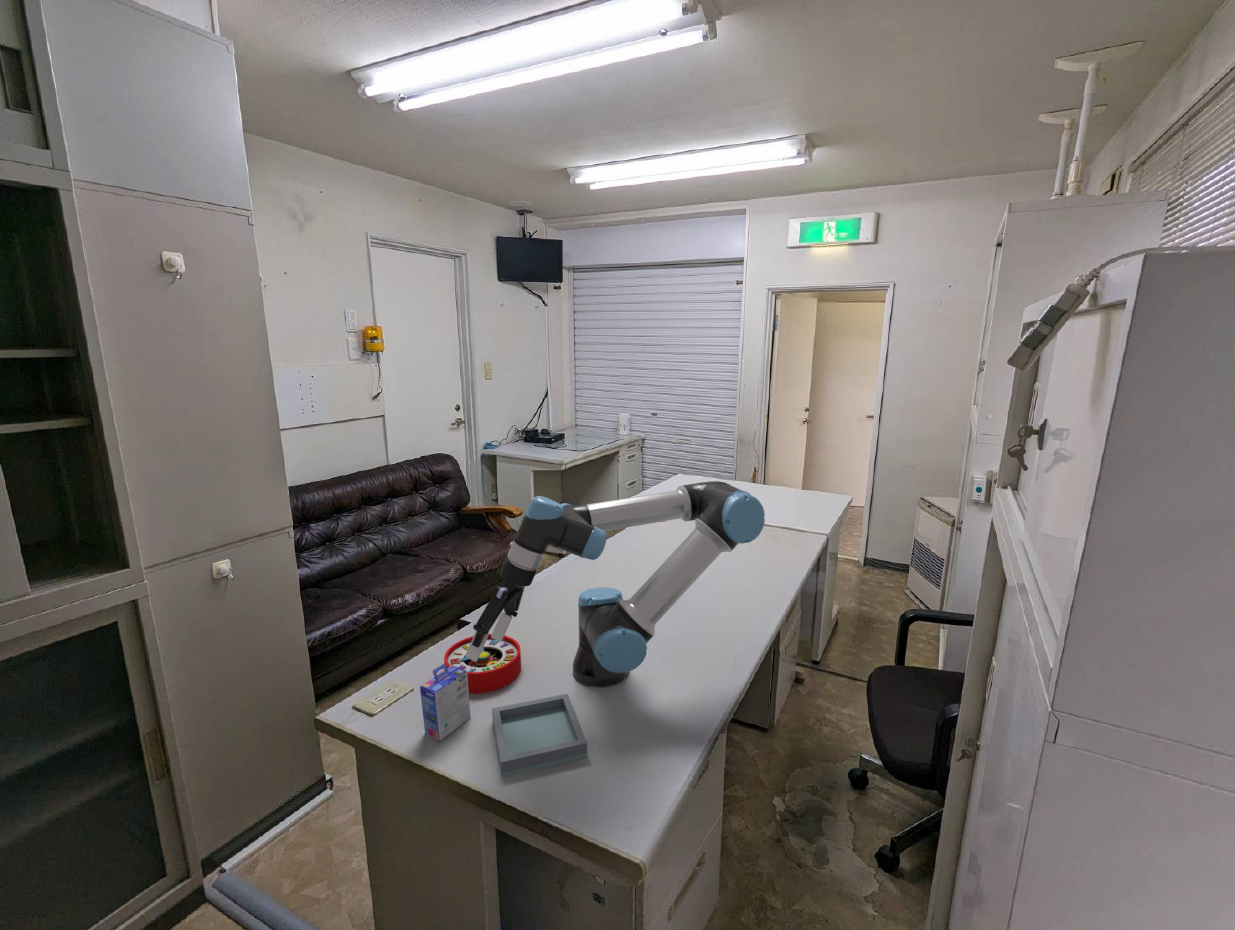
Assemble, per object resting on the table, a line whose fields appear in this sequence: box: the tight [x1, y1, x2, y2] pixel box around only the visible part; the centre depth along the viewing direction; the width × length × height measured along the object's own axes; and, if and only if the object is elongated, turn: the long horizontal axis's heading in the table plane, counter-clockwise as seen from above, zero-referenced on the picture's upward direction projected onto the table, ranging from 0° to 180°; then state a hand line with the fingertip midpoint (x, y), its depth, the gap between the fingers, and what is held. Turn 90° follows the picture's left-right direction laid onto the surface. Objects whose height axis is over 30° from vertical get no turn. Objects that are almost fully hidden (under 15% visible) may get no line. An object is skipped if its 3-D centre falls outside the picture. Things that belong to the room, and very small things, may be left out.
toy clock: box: [443, 633, 522, 695], centre depth 147 cm, size 20×6×20 cm
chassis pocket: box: [491, 693, 588, 778], centre depth 122 cm, size 18×18×4 cm
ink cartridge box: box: [419, 663, 472, 742], centre depth 125 cm, size 10×6×14 cm, turn 150°
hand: (484, 648), depth 123 cm, fingers open, 13 cm apart
